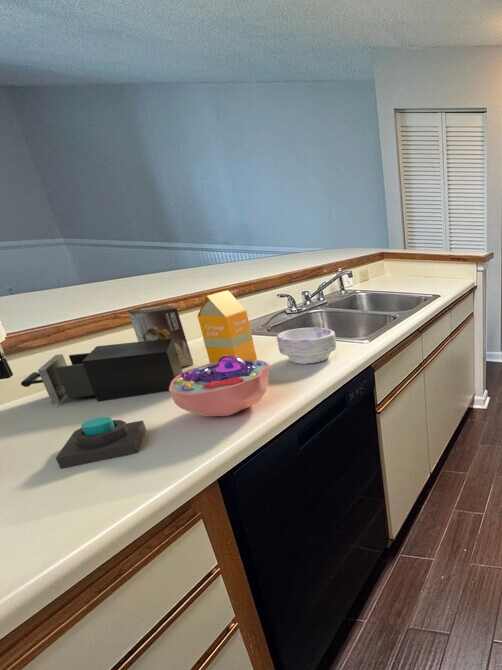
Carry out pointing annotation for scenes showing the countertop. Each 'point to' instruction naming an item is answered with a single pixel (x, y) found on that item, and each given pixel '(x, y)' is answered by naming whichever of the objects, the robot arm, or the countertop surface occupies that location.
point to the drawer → (63, 378)
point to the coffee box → (161, 328)
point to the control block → (102, 444)
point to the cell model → (221, 386)
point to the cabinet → (132, 368)
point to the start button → (97, 425)
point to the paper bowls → (307, 344)
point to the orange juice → (225, 327)
